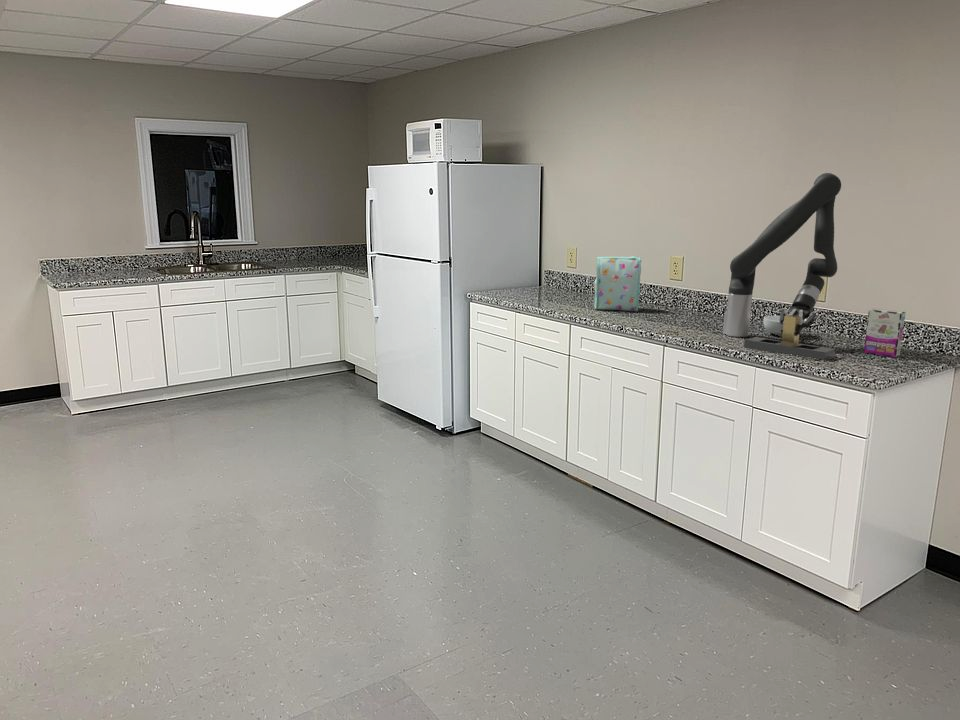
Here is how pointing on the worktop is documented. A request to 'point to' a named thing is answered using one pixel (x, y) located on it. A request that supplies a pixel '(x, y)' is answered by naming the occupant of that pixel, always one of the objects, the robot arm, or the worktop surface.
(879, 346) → the candy bar box
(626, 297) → the lunch bag
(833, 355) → the grey peg board
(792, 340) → the brass peg
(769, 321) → the cereal bowl
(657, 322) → the worktop surface
